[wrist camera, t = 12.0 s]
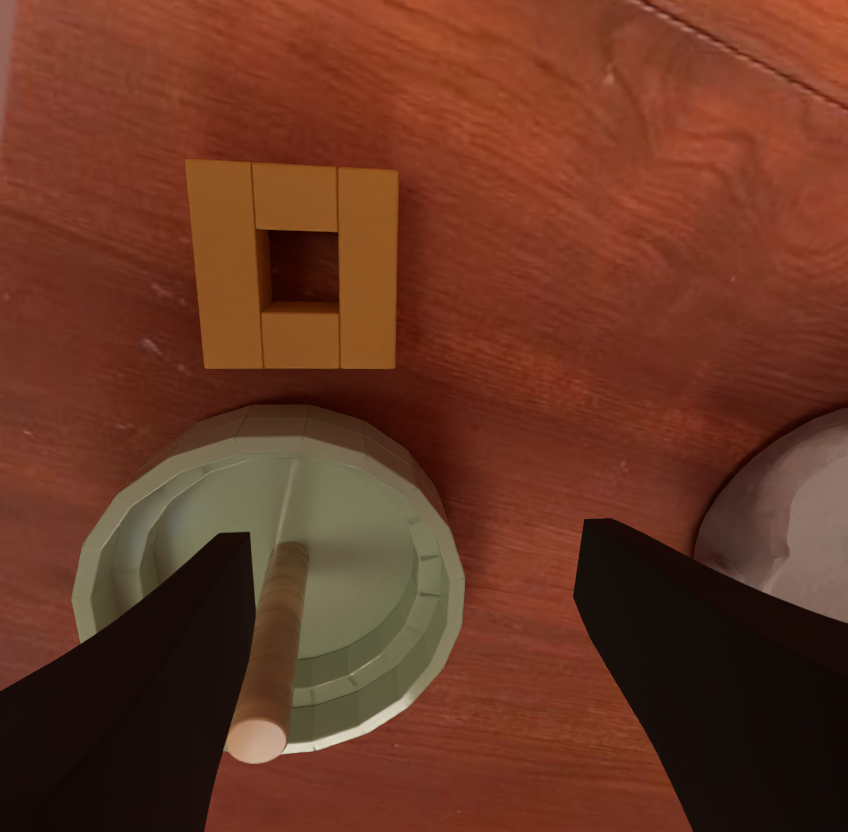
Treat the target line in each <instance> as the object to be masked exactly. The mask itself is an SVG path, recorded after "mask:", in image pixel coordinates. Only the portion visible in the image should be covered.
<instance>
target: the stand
mask: <svg viewBox="0 0 848 832" xmlns="http://www.w3.org/2000/svg"><path fill="white" fill-rule="evenodd" d="M185 170H186V181H187V191H188V202H189V212H190V223H191V233H192V244H193V254H194V265H195V275H196V286H197V296H198V306H199V317H200V327H201V338H202V348H203V359H204V367H205V368H206V369H263V368H266V369H338V368H340V367H341V368H342V369H394V368H395V366H396V313H397V260H398V207H399V172H398V170H391V169H372V168H354V167H339V168H338V169H337V168H336V167H334V166H316V165H298V164H279V163H260V162H254V163H251V162H244V161H225V160H206V159H187V158H186V159H185ZM269 230H291V231H318V232H338V257H339V302H312V301H273V302H272V283H271V264H270V245H269Z"/></svg>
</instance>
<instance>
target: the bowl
mask: <svg viewBox="0 0 848 832" xmlns="http://www.w3.org/2000/svg"><path fill="white" fill-rule="evenodd" d="M226 532H250V539H251V552H252V565H253V579H254V592H255V605H256V609H257V605H258V601H259V597H260V593H261V589H262V584H263V580H264V576H265V572H266V568H267V564H268V560H269V556H270V553H271V551H272V550H273V549H274V548H275V547H276V546H278V545H279V544H282V543H285V542H294V543H297V544H299V545H301V546H303V547H304V548H305V549H306V551H307V552H308V555H309V566H308V575H307V583H306V592H305V600H304V609H303V618H302V626H301V635H300V644H299V652H298V661H297V669H296V678H295V687H294V695H293V704H292V712H291V721H290V730H289V738H288V743H287V746H286V748H285V749H284V751H283V752H282V753H281V754H291V753H302V752H313V751H315V750H316V751H318V750H321V749H324V748H327V747H330V746H333V745H335V744H338V743H341V742H344V741H347V740H350V739H353V738H356V737H359V736H362V735H365V734H368V733H369V732H371V731H372V730H374V729H376V728H377V727H379V726H380V725H382V724H383V723H385V722H387V721H388V720H390V719H391V718H393V717H394V716H396V715H397V714H399V713H401V712H402V711H404V710H405V709H407V708H408V707H409V706H410V705H411V704H412V703H413V702H414V701H415V700H416V699H417V698H418V696H419V695H420V694H421V693H422V692H423V691H424V690H425V689H426V688H427V686H428V685H429V684H430V683H431V682H432V681H433V680H434V679H435V677H436V676H437V675H438V674H439V673H440V672H441V671H442V669H443V668H444V666H445V663H446V661H447V659H448V657H449V654H450V652H451V650H452V648H453V645H454V643H455V641H456V639H457V636H458V634H459V632H460V630H461V627H462V623H463V609H464V595H465V580H466V578H465V573H464V570H463V566H462V563H461V560H460V557H459V553H458V550H457V547H456V544H455V541H454V537H453V534H452V531H451V528H450V525H449V522H448V519H447V517H446V514H445V511H444V508H443V505H442V502H441V499H440V496H439V494H438V491H437V489H436V487H435V485H434V484H433V483H432V481H431V480H430V479H429V477H428V476H427V475H426V473H425V472H424V471H423V469H422V468H421V467H420V466H419V464H418V463H417V462H416V460H415V459H414V458H413V456H412V455H411V454H410V452H409V451H407V450H406V448H404V447H403V446H401V445H400V444H398V443H397V442H395V441H394V440H392V439H391V438H389V437H388V436H386V435H385V434H384V433H382V432H381V431H379V430H378V429H376V428H375V427H373V426H372V425H370V424H369V423H367V422H366V421H363V420H361V419H358V418H354V417H351V416H348V415H344V414H341V413H338V412H334V411H331V410H327V409H324V408H321V407H317V406H314V405H309V404H287V405H250V406H246V407H243V408H240V409H237V410H234V411H230V412H227V413H224V414H221V415H218V416H214V417H211V418H208V419H205V420H202V421H199V422H197V423H195V424H193V425H192V426H190V427H189V428H188V429H186V430H185V431H183V432H182V433H181V434H179V435H178V436H176V437H175V438H173V439H172V440H171V441H169V442H168V443H166V444H165V445H164V446H162V447H161V448H159V449H158V450H157V451H155V452H154V453H153V454H152V455H151V456H150V457H149V458H148V459H147V460H146V462H145V463H144V464H143V465H142V466H141V467H140V468H139V470H138V471H137V472H136V473H135V474H134V475H133V476H132V477H131V479H130V480H129V481H128V482H127V483H126V484H125V485H124V487H123V488H122V489H121V490H120V491H119V492H118V493H117V494H116V496H115V497H114V498H113V500H112V501H111V503H110V504H109V506H108V507H107V509H106V510H105V512H104V513H103V514H102V516H101V517H100V519H99V520H98V522H97V523H96V525H95V526H94V528H93V529H92V531H91V532H90V533H89V535H88V536H87V538H86V539H85V541H84V544H83V545H82V549H81V554H80V559H79V563H78V568H77V573H76V578H75V583H74V587H73V592H72V604H73V609H74V614H75V619H76V624H77V629H78V634H79V639H80V644H81V643H83V642H84V641H86V640H87V639H89V638H90V637H92V636H93V635H95V634H96V633H98V632H99V631H101V630H102V629H104V628H105V627H106V626H108V625H109V624H111V623H112V622H113V621H115V620H116V619H118V618H119V617H120V616H121V615H123V614H124V613H125V612H127V611H128V610H129V609H130V608H132V607H133V606H134V605H135V604H137V603H138V602H139V601H141V600H142V599H143V598H144V597H146V596H147V595H148V594H149V593H151V592H152V591H153V590H154V589H156V588H157V587H158V586H159V585H161V584H162V583H163V582H164V581H165V580H166V579H168V578H169V577H170V576H171V575H172V574H173V573H174V572H176V571H177V570H178V569H179V568H180V567H181V566H182V565H184V564H185V563H186V562H187V561H188V560H189V559H190V558H191V557H192V556H194V555H195V554H196V553H197V552H198V551H199V550H200V549H201V548H202V547H203V546H205V545H206V544H207V543H208V542H209V541H210V540H211V539H212V538H213V537H215V536H216V535H217V534H218V533H226ZM223 751H225V752H229V751H228V750H227V747H226V743H225V746H224V750H223ZM281 754H280V755H281Z"/></svg>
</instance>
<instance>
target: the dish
mask: <svg viewBox="0 0 848 832" xmlns="http://www.w3.org/2000/svg"><path fill="white" fill-rule="evenodd" d="M693 559H694V560H696V561H698V562H700V563H702V564H704V565H706V566H708V567H710V568H712V569H714V570H716V571H718V572H720V573H722V574H724V575H727V576H729V577H731V578H733V579H735V580H737V581H739V582H742V583H744V584H746V585H748V586H750V587H753V588H755V589H757V590H760V591H762V592H764V593H767V594H769V595H772V596H774V597H777V598H779V599H782V600H784V601H787V602H789V603H792V604H795V605H797V606H800V607H802V608H805V609H807V610H810V611H813V612H816V613H819V614H822V615H824V616H827V617H830V618H833V619H836V620H839V621H842V622H845V623H848V408H843V409H840V410H837V411H834V412H831V413H828V414H825V415H823V416H820V417H817V418H815V419H813V420H811V421H809V422H807V423H805V424H803V425H801V426H800V427H798V428H796V429H794V430H793V431H791V432H789V433H788V434H786V435H784V436H783V437H781V438H779V439H778V440H776V441H775V442H773V443H772V444H771V445H769V446H768V447H767V448H765V449H764V450H763V451H761V452H760V453H759V454H757V455H756V456H755V457H754V458H753V459H752V460H751V461H750V462H748V463H747V464H746V465H745V466H744V467H743V468H742V469H741V470H740V471H739V472H738V473H737V474H736V475H735V476H734V477H733V479H732V480H731V481H730V482H729V483H728V484H727V485H726V487H725V488H724V489H723V490H722V491H721V492H720V494H719V495H718V496H717V498H716V499H715V501H714V503H713V504H712V506H711V507H710V509H709V511H708V512H707V514H706V515H705V518H704V520H703V522H702V524H701V526H700V529H699V533H698V537H697V540H696V544H695V549H694V557H693Z"/></svg>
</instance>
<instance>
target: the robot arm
mask: <svg viewBox="0 0 848 832" xmlns="http://www.w3.org/2000/svg"><path fill="white" fill-rule="evenodd" d="M573 598H574V601H575V603H576V606H577V608H578V611H579V613H580V616H581V618H582V621H583V623H584V625H585V627H586V630H587V632H588V634H589V636H590V638H591V640H592V642H593V644H594V646H595V647H596V649H597V651H598V652H599V654H600V656H601V658H602V659H603V661H604V663H605V664H606V666H607V668H608V670H609V671H610V673H611V675H612V676H613V678H614V680H615V681H616V683H617V685H618V686H619V688H620V690H621V691H622V693H623V695H624V696H625V698H626V700H627V701H628V703H629V705H630V707H631V708H632V710H633V712H634V713H635V715H636V717H637V718H638V720H639V722H640V723H641V725H642V727H643V728H644V730H645V732H646V734H647V735H648V737H649V739H650V741H651V743H652V745H653V746H654V748H655V750H656V752H657V754H658V756H659V758H660V760H661V762H662V765H663V767H664V769H665V771H666V773H667V775H668V777H669V779H670V781H671V784H672V786H673V788H674V790H675V792H676V794H677V796H678V798H679V801H680V803H681V805H682V807H683V809H684V812H685V814H686V816H687V819H688V821H689V823H690V825H691V828H692V830H693V832H848V623H845V622H842V621H839V620H836V619H833V618H830V617H827V616H824V615H822V614H819V613H816V612H813V611H810V610H807V609H805V608H802V607H800V606H797V605H795V604H792V603H789V602H787V601H784V600H782V599H779V598H777V597H774V596H772V595H769V594H767V593H764V592H762V591H760V590H757V589H755V588H753V587H750V586H748V585H746V584H744V583H742V582H739V581H737V580H735V579H733V578H731V577H729V576H727V575H724V574H722V573H720V572H718V571H716V570H714V569H712V568H710V567H708V566H706V565H704V564H702V563H700V562H698V561H696V560H694V559H692V558H690V557H688V556H686V555H684V554H682V553H680V552H678V551H676V550H674V549H673V548H671V547H669V546H667V545H665V544H663V543H661V542H659V541H657V540H655V539H653V538H651V537H650V536H648V535H646V534H644V533H642V532H640V531H638V530H636V529H634V528H632V527H630V526H628V525H626V524H623V523H621V522H619V521H616V520H614V519H611V518H603V519H584V525H583V532H582V539H581V546H580V553H579V560H578V567H577V573H576V580H575V587H574V594H573ZM255 620H256V605H255V592H254V579H253V565H252V552H251V539H250V532H226V533H218V534H217V535H216V536H215V537H213V538H212V539H211V540H210V541H209V542H208V543H207V544H206V545H205V546H203V547H202V548H201V549H200V550H199V551H198V552H197V553H196V554H195V555H194V556H192V557H191V558H190V559H189V560H188V561H187V562H186V563H185V564H184V565H182V566H181V567H180V568H179V569H178V570H177V571H176V572H174V573H173V574H172V575H171V576H170V577H169V578H168V579H166V580H165V581H164V582H163V583H162V584H161V585H159V586H158V587H157V588H156V589H154V590H153V591H152V592H151V593H149V594H148V595H147V596H146V597H144V598H143V599H142V600H141V601H139V602H138V603H137V604H135V605H134V606H133V607H132V608H130V609H129V610H128V611H127V612H125V613H124V614H123V615H121V616H120V617H119V618H118V619H116V620H115V621H113V622H112V623H111V624H109V625H108V626H106V627H105V628H104V629H102V630H101V631H99V632H98V633H96V634H95V635H93V636H92V637H90V638H89V639H87V640H86V641H84V642H83V643H81V644H80V645H78V646H77V647H75V648H74V649H72V650H71V651H69V652H68V653H66V654H64V655H63V656H61V657H59V658H58V659H56V660H54V661H53V662H51V663H49V664H47V665H46V666H44V667H42V668H40V669H39V670H37V671H35V672H33V673H32V674H30V675H28V676H26V677H25V678H23V679H21V680H19V681H18V682H16V683H14V684H12V685H11V686H9V687H7V688H5V689H4V690H2V691H0V832H204V830H205V824H206V819H207V814H208V809H209V804H210V799H211V794H212V790H213V786H214V782H215V778H216V774H217V770H218V767H219V763H220V760H221V757H222V753H223V750H224V746H225V743H226V739H227V736H228V733H229V729H230V726H231V722H232V719H233V715H234V712H235V709H236V705H237V702H238V698H239V695H240V691H241V688H242V684H243V681H244V677H245V674H246V670H247V667H248V663H249V658H250V652H251V646H252V640H253V634H254V627H255Z"/></svg>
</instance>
